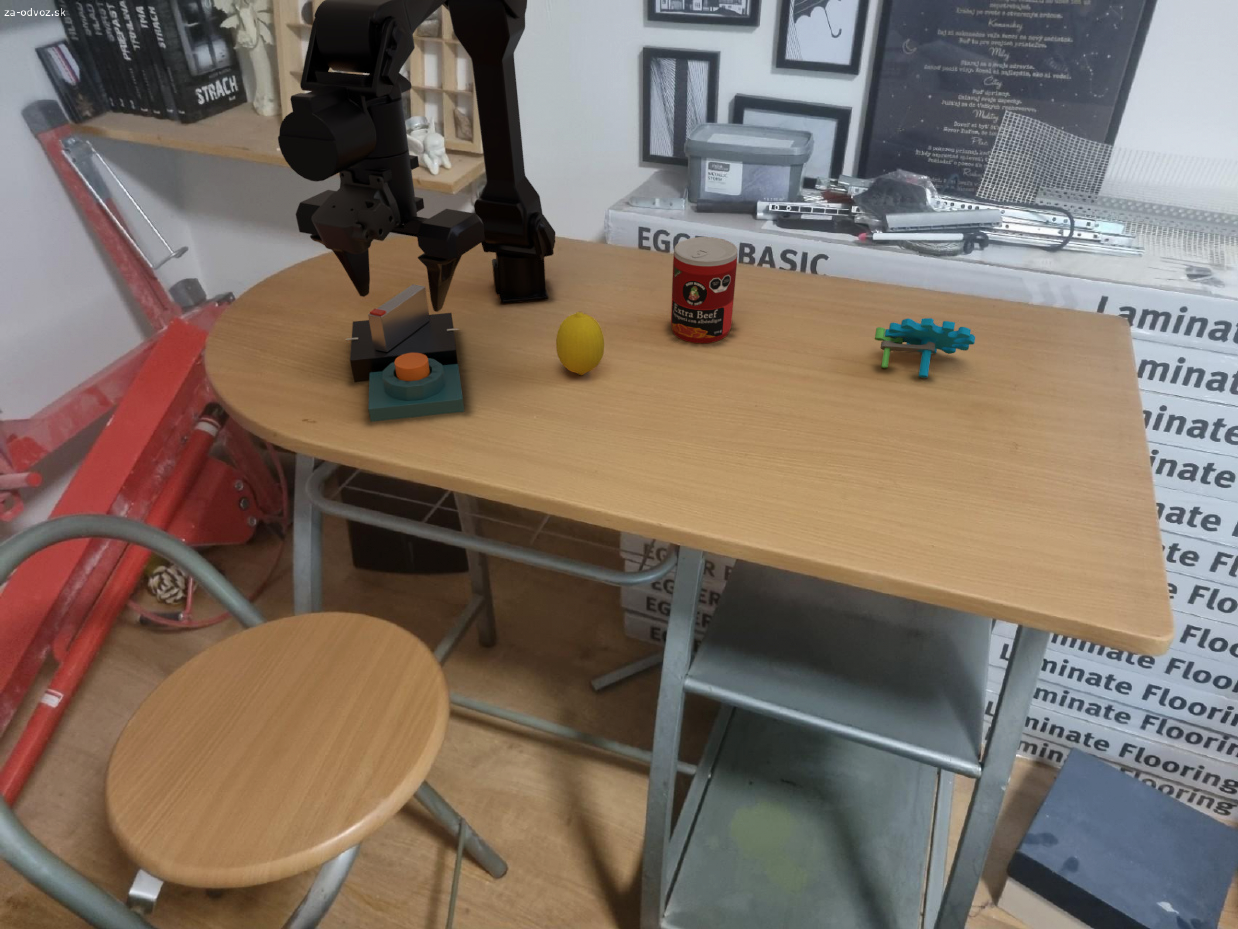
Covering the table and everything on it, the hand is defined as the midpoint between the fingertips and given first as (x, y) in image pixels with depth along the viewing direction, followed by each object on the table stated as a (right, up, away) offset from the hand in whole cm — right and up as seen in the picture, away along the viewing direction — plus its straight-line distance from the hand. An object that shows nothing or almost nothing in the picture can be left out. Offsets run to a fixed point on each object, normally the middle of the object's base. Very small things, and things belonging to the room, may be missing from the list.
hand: (400, 302), depth 91 cm
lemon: (+18, -7, +11) cm, 23 cm away
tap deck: (-3, -4, +14) cm, 15 cm away
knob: (-3, -1, +13) cm, 13 cm away
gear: (+59, -5, +13) cm, 60 cm away
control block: (0, -10, +7) cm, 12 cm away
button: (0, -7, +5) cm, 9 cm away
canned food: (+33, 0, +21) cm, 39 cm away
